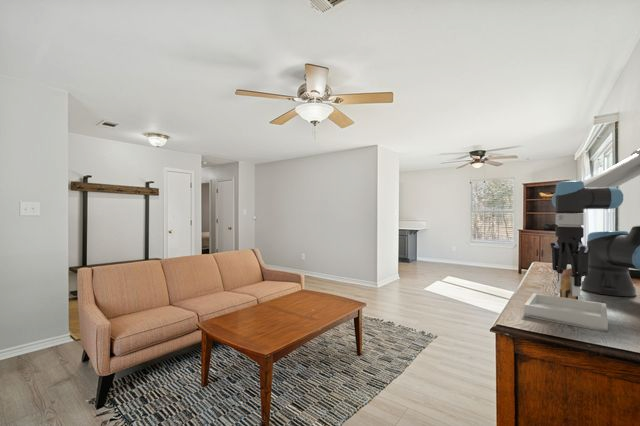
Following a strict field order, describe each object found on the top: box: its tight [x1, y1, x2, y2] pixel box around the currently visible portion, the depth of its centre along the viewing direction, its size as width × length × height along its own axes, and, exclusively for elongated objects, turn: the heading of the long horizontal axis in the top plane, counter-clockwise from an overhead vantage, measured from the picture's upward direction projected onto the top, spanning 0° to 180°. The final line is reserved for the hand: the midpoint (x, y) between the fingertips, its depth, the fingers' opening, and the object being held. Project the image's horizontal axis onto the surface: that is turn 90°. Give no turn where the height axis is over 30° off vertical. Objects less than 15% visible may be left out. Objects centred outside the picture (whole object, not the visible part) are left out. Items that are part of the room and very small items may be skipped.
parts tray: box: [523, 292, 609, 333], centre depth 91 cm, size 18×18×4 cm
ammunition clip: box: [559, 267, 579, 300], centre depth 104 cm, size 11×2×12 cm, turn 123°
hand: (569, 293), depth 104 cm, fingers closed on ammunition clip, 4 cm apart
